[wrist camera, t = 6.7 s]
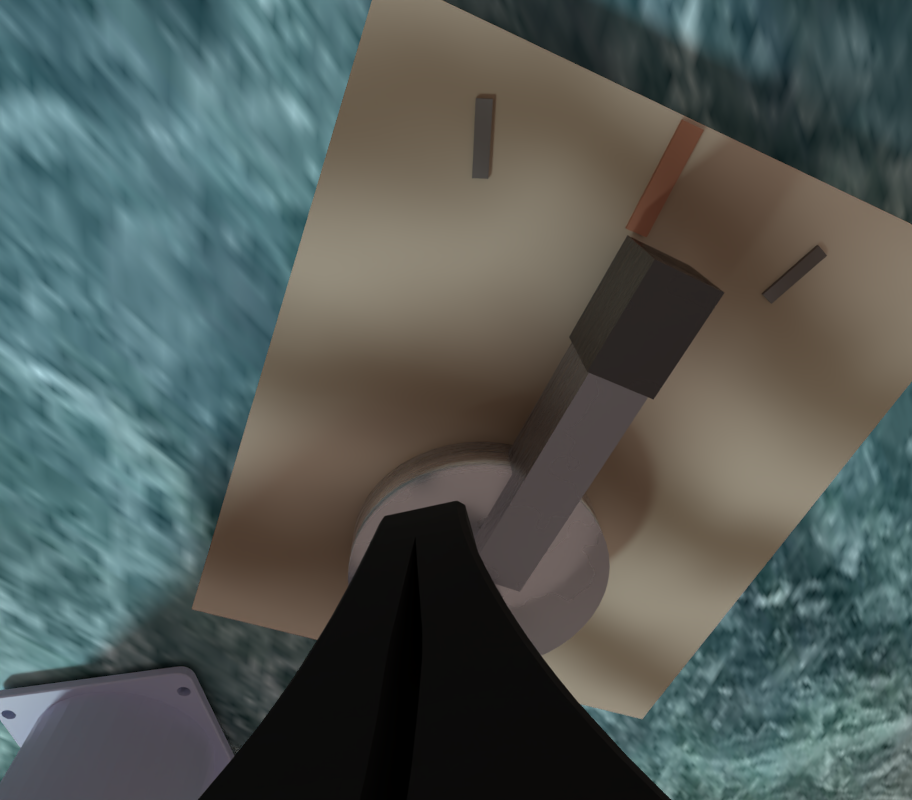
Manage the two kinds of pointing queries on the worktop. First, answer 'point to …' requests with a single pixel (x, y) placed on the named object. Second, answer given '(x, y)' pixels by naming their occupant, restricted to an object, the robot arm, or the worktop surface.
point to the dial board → (555, 335)
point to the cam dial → (560, 448)
